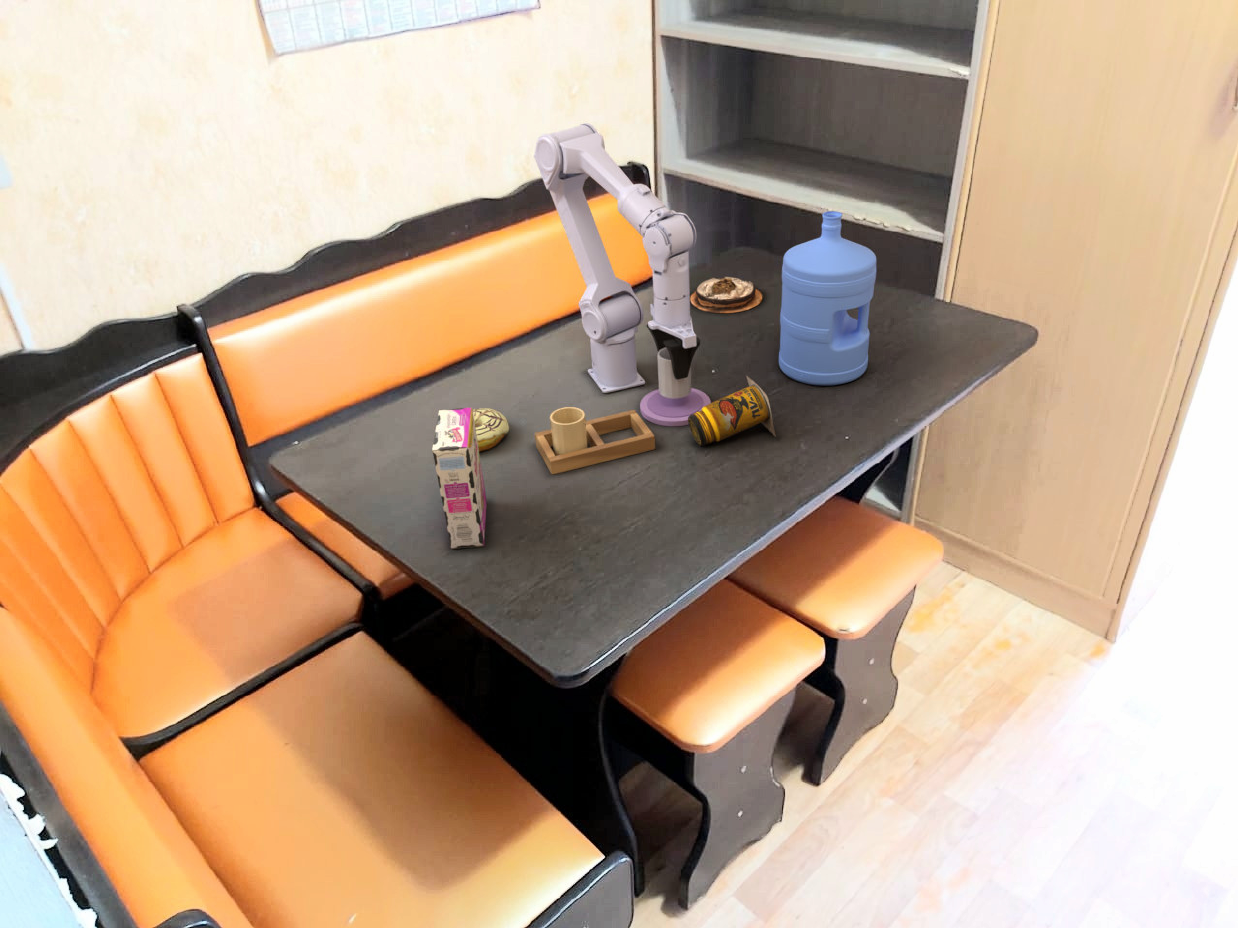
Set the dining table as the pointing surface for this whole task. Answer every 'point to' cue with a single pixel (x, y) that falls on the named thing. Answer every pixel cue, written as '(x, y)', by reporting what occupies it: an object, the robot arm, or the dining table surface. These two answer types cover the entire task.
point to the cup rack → (598, 443)
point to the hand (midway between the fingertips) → (674, 370)
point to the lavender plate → (672, 407)
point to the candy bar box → (460, 477)
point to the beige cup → (568, 430)
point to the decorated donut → (489, 427)
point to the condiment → (731, 415)
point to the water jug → (826, 307)
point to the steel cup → (671, 378)
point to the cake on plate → (725, 295)
